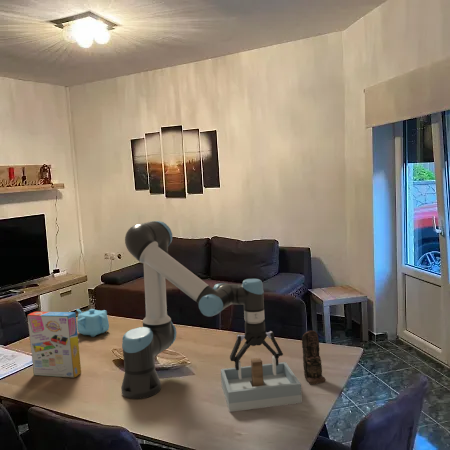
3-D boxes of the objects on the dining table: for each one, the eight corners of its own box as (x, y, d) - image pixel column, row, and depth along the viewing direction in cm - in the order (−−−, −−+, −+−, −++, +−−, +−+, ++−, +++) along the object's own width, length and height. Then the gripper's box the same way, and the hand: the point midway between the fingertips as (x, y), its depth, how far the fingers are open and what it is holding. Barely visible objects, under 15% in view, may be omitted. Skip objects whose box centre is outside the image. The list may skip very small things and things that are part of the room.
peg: (252, 389, 174) (250, 358, 173) (261, 388, 175) (260, 357, 173) (254, 393, 171) (252, 362, 169) (263, 392, 171) (262, 361, 170)
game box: (81, 373, 198) (76, 312, 195) (74, 378, 193) (68, 315, 190) (41, 370, 204) (35, 310, 201) (32, 375, 198) (26, 314, 196)
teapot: (111, 327, 260) (109, 304, 258) (107, 336, 243) (105, 312, 242) (78, 330, 257) (76, 307, 256) (72, 340, 241) (69, 315, 240)
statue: (310, 385, 174) (308, 334, 172) (302, 378, 181) (300, 329, 179) (326, 382, 176) (324, 332, 174) (317, 375, 183) (315, 326, 181)
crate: (229, 411, 158) (228, 392, 157) (221, 386, 178) (220, 369, 177) (301, 402, 162) (301, 383, 161) (286, 378, 181) (285, 361, 181)
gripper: (223, 327, 165) (226, 383, 167) (289, 320, 168) (291, 376, 170) (220, 320, 172) (223, 375, 174) (284, 314, 175) (286, 368, 177)
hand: (257, 375), depth 172 cm, fingers open, 13 cm apart
